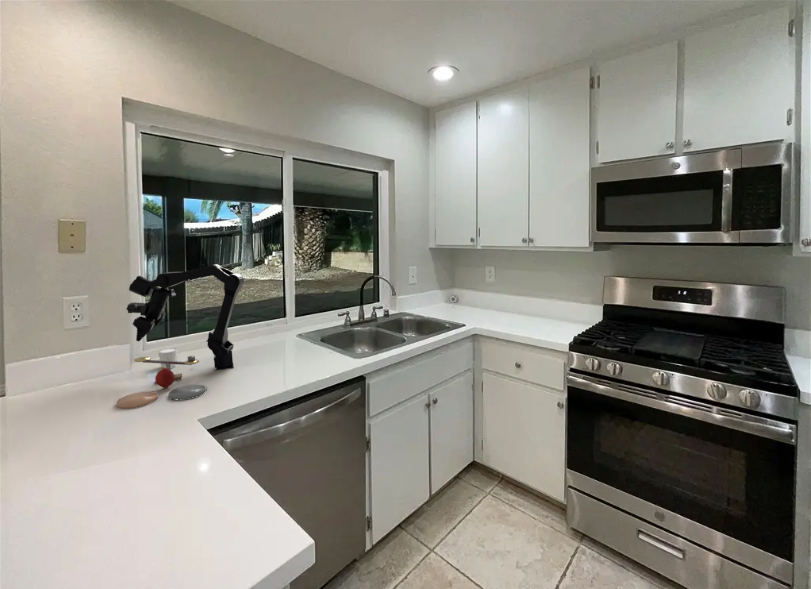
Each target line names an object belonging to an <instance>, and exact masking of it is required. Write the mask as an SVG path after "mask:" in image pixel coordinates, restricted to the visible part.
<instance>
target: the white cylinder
mask: <svg viewBox="0 0 811 589" xmlns="http://www.w3.org/2000/svg"><path fill="white" fill-rule="evenodd" d="M157 354H158V357H159V360H161V361H178V349H177V348H165V349H161V350H159V351H158V353H157ZM176 366H177V367H178V364H170V367H171V369H174V368H173V367H175V368H177V367H176ZM160 367H161V369H162V367H165V368H166V364H163V363H160Z"/></svg>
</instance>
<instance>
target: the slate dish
mask: <svg viewBox="0 0 811 589" xmlns="http://www.w3.org/2000/svg"><path fill="white" fill-rule="evenodd" d="M205 391H206V392H207V389H206V386H205V385H204V384H197V383H196V384H187V385H181V386H179V387H176V388H174V389H172V390H170V391H169V393H168V398H169V397H170V398H171V399H170V398H169V399H170V400H172V399H178V400H177V401H181V400H180V399H187V400H189V399H188V398H192V397H196V396H198V397H200V396H199V395H201V394H203V393H204V392H205ZM206 392H205V393H206ZM205 393H204V394H205ZM204 394H203V395H204ZM201 396H202V395H201ZM196 398H197V397H196ZM192 399H193V398H192Z"/></svg>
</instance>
